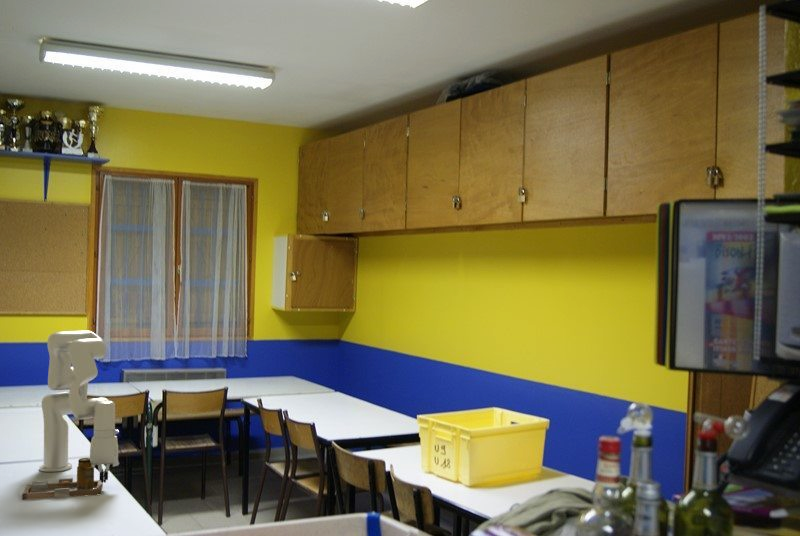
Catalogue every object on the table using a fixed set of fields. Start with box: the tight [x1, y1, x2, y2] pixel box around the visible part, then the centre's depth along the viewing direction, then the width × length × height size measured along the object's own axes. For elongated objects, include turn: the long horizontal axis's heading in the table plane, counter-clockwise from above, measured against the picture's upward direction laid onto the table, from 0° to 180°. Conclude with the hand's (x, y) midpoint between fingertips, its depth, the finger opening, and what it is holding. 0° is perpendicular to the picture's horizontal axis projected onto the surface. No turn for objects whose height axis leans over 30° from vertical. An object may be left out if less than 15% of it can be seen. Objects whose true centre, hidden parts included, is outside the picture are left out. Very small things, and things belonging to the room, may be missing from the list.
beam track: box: [21, 477, 104, 501], centre depth 313 cm, size 16×27×4 cm, turn 107°
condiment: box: [73, 457, 95, 490], centre depth 315 cm, size 7×8×12 cm
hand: (103, 481), depth 317 cm, fingers closed
